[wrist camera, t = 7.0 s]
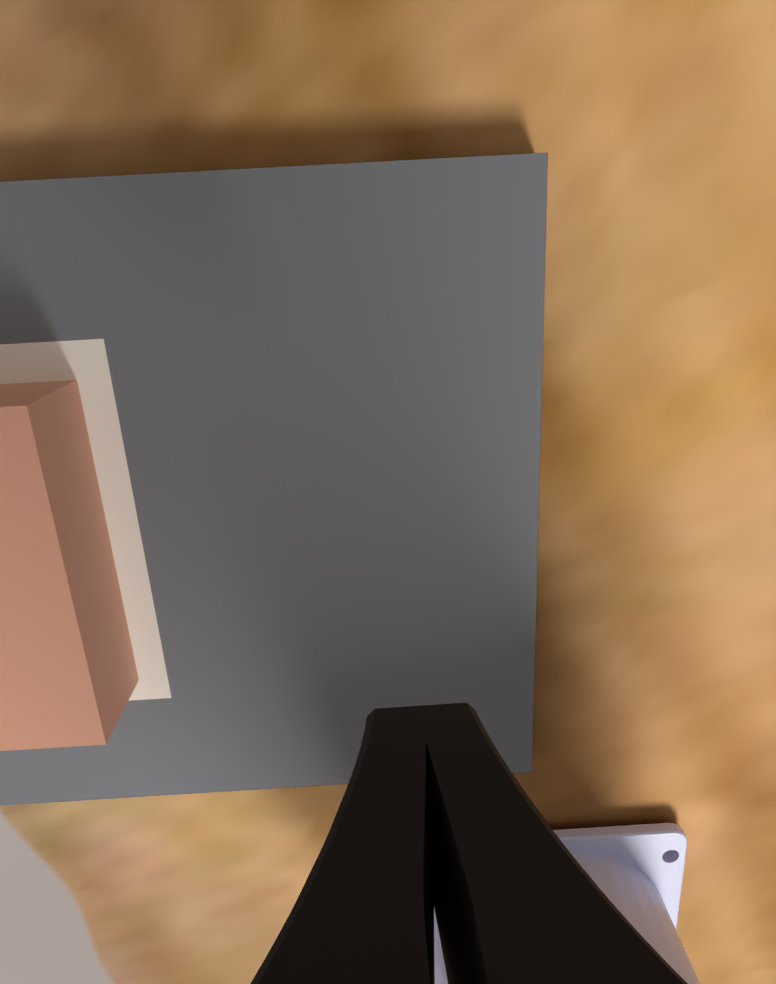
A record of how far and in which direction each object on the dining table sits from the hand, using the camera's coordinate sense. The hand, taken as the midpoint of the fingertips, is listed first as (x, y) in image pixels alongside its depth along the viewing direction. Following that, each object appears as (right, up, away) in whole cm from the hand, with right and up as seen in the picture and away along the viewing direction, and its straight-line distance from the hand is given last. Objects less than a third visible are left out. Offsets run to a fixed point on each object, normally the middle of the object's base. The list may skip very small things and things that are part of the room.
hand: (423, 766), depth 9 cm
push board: (-7, +3, +9) cm, 11 cm away
